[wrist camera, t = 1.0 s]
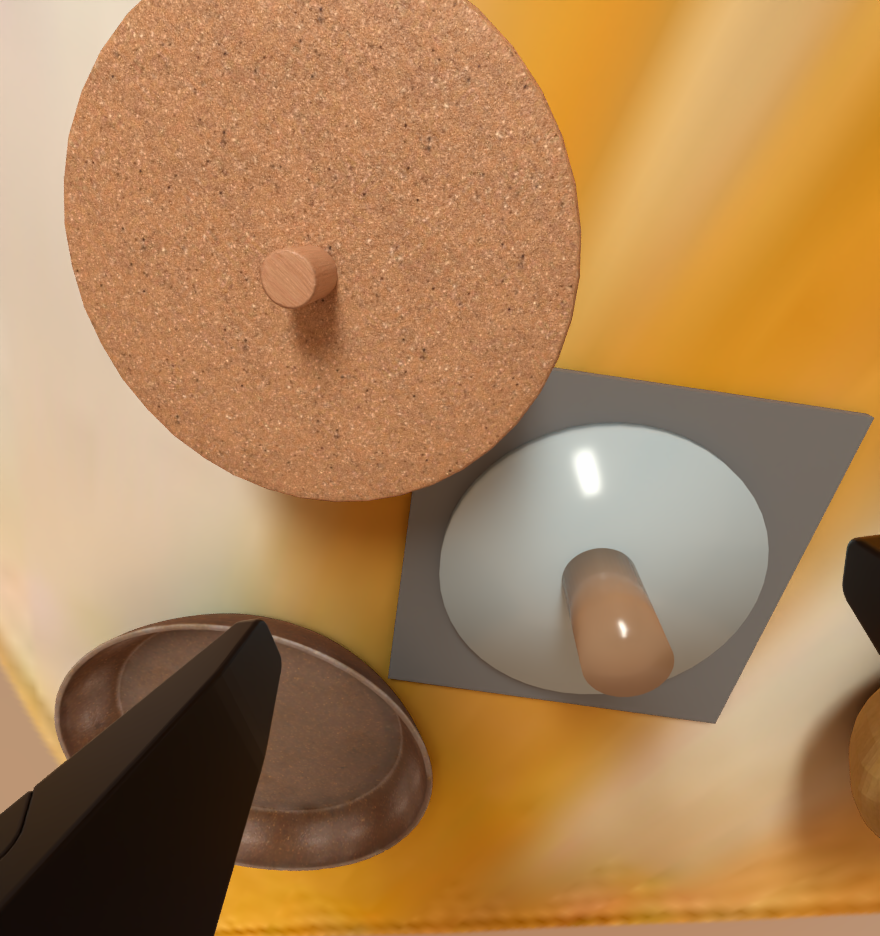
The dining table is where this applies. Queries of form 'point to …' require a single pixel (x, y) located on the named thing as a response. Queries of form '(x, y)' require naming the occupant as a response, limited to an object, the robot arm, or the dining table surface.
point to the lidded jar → (323, 235)
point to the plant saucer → (281, 739)
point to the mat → (685, 413)
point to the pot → (867, 762)
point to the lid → (602, 559)
